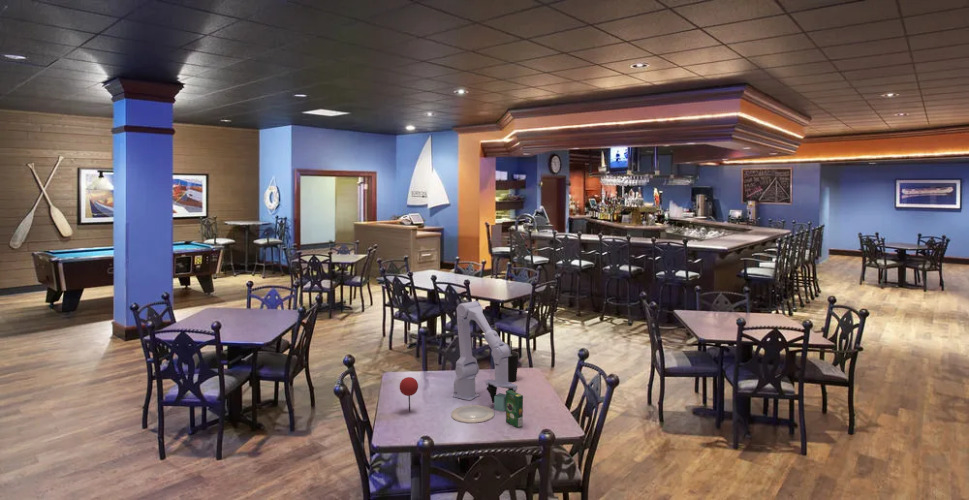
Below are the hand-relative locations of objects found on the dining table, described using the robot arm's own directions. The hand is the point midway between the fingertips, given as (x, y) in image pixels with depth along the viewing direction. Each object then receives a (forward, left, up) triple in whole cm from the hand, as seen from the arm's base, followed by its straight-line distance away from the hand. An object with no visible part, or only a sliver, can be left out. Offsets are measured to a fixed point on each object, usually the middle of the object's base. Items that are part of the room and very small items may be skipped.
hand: (501, 403), depth 252 cm
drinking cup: (-15, +35, -3) cm, 38 cm away
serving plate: (-7, -12, -2) cm, 14 cm away
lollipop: (-32, -23, -3) cm, 40 cm away
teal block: (0, 0, -2) cm, 2 cm away
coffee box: (+13, -12, -3) cm, 18 cm away
